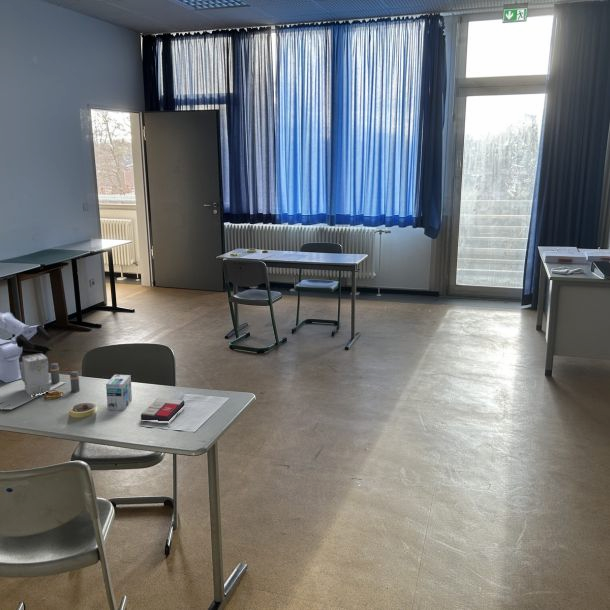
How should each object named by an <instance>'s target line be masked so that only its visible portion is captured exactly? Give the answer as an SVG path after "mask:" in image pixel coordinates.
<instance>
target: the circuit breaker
mask: <svg viewBox="0 0 610 610" xmlns="http://www.w3.org/2000/svg"><path fill="white" fill-rule="evenodd" d="M21 359H22V361H19V367H20V375H21V379H20V380H21V381H22V382H23V383H24V390H25V391H26V392H27V393H28V394H29V395H32V396H33V394H35V395H36V394H39V393H40V394H41V393H44V392H46V391H50V390H51V383H50V378H49V369H50V366H49V361H48V357H47V356H46V355H45V354H43V352H40V353H35V354H28V355H23V356H21ZM50 392H51V391H50ZM27 393H26V394H27ZM28 394H27V395H28ZM29 395H28V396H29Z"/></svg>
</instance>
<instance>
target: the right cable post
mask: <svg viewBox="0 0 610 610" xmlns="http://www.w3.org/2000/svg"><path fill="white" fill-rule="evenodd" d="M79 378H80V376H79V371H77V370H73V371H70V372H69V380H70V391H71V393H78V392H80V379H79Z"/></svg>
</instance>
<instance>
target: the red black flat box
mask: <svg viewBox="0 0 610 610" xmlns="http://www.w3.org/2000/svg"><path fill="white" fill-rule="evenodd" d="M184 405H185V401H184V400H183V399H173V398H164V397H158V398H157V399H155V401H154V402H152V403H151V404H150V405H149V406H148V407H147V408H146V409H145V410H144V411H143V412H142V413H141V414H140V421H141V420H158V421H169V420H170V419H171V418H172V417H173V416H174V415H175V414H176V413H177V412H178V411H179V410H180V409H181V408H182V407H183V406H184Z"/></svg>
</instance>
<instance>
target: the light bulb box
mask: <svg viewBox="0 0 610 610" xmlns="http://www.w3.org/2000/svg"><path fill="white" fill-rule="evenodd" d="M131 376H132V375H131V374H114V375H113V376H111V378H110V379H109V380H108V381H107V382H106V383H105V387H106V388H105V389H106V403H107V411H125V410H126V409H127V408H126V407H129V405H130V404H131V403H132V401H133V393H132V379H131V378H132V377H131ZM129 403H130V404H129Z"/></svg>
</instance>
